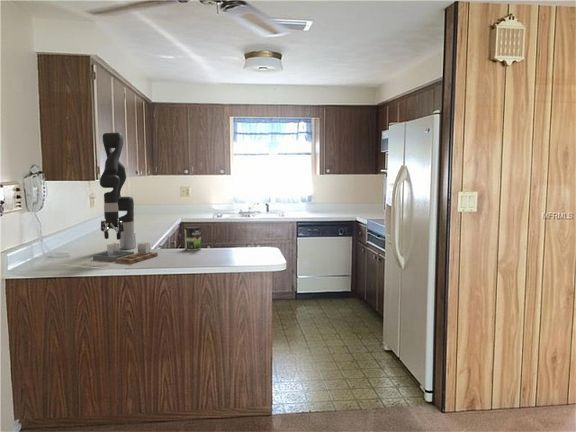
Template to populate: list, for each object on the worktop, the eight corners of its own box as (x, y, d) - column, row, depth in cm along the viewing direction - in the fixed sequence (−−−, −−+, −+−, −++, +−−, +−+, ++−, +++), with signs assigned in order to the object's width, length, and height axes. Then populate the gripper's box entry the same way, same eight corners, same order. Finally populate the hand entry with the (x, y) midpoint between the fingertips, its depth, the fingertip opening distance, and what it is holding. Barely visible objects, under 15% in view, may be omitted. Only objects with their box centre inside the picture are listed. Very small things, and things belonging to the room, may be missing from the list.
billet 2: (142, 255, 274) (142, 242, 273) (150, 256, 272) (149, 242, 271) (138, 257, 271) (137, 243, 270) (146, 257, 269) (145, 243, 268)
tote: (113, 255, 280) (112, 250, 280) (134, 257, 274) (133, 251, 274) (93, 261, 266) (92, 255, 265) (115, 263, 260) (114, 257, 259)
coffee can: (204, 248, 300) (204, 226, 299) (191, 251, 293) (190, 228, 291) (195, 246, 307) (194, 225, 306) (181, 249, 300) (180, 227, 298)
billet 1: (107, 258, 268) (106, 244, 267) (114, 256, 273) (113, 242, 272) (113, 259, 266) (112, 245, 265) (120, 257, 272) (119, 243, 271)
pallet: (142, 256, 278) (142, 251, 278) (157, 257, 274) (157, 252, 274) (116, 264, 258) (115, 258, 258) (132, 265, 254) (131, 260, 254)
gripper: (125, 210, 267) (127, 238, 269) (106, 209, 273) (107, 237, 274) (116, 211, 260) (117, 240, 262) (96, 211, 266) (98, 239, 267)
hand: (112, 239), depth 268 cm, fingers open, 8 cm apart
